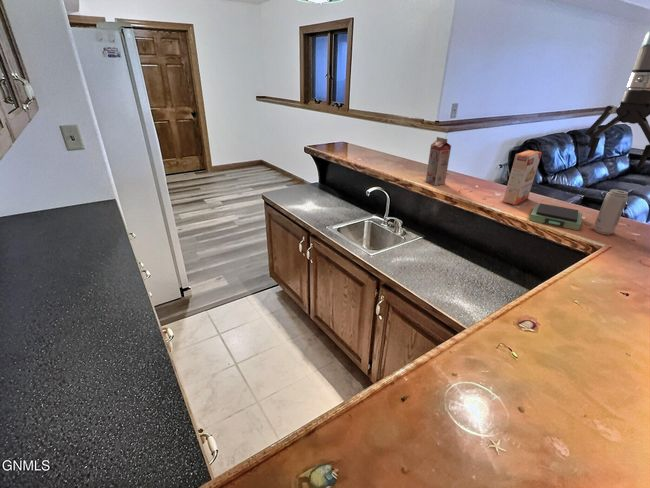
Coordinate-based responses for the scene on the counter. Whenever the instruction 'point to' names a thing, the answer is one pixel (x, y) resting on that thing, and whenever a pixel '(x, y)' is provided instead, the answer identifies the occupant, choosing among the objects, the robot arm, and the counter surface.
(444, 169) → the juice carton
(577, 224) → the scale
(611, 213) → the energy drink can
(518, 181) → the cracker box
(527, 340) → the counter surface
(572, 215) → the scale pan
